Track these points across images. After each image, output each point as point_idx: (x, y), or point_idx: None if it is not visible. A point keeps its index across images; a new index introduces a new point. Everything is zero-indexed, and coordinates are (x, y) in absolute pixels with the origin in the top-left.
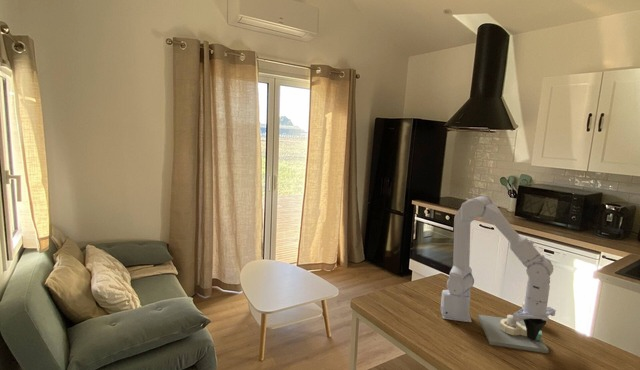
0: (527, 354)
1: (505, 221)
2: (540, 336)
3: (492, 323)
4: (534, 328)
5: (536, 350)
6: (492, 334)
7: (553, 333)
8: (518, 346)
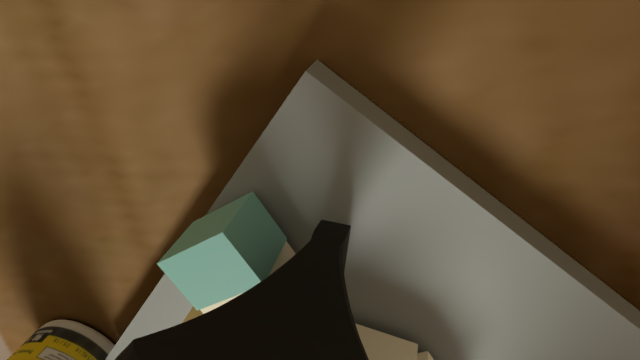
0: (554, 142)
1: None
2: (238, 224)
3: None
4: (364, 353)
5: (405, 135)
6: None
7: (17, 206)
8: (546, 249)
